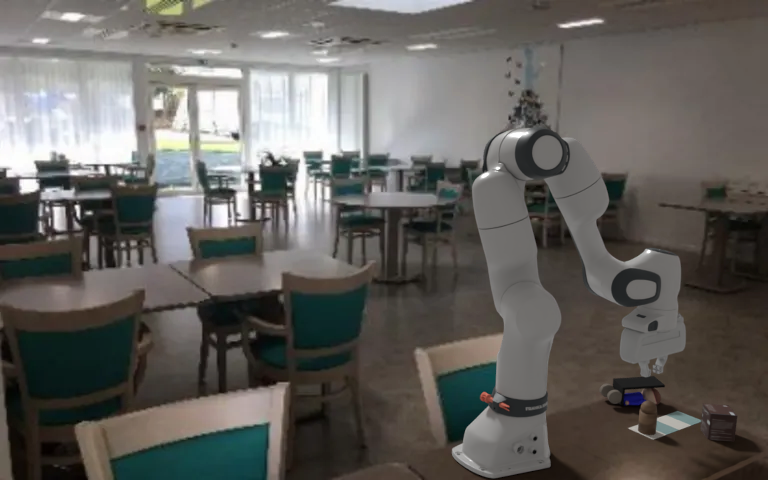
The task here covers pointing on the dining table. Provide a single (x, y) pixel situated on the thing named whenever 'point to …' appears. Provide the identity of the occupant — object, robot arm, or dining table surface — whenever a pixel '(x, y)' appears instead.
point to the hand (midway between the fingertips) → (651, 374)
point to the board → (670, 424)
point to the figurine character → (621, 384)
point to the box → (718, 422)
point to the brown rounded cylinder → (647, 418)
